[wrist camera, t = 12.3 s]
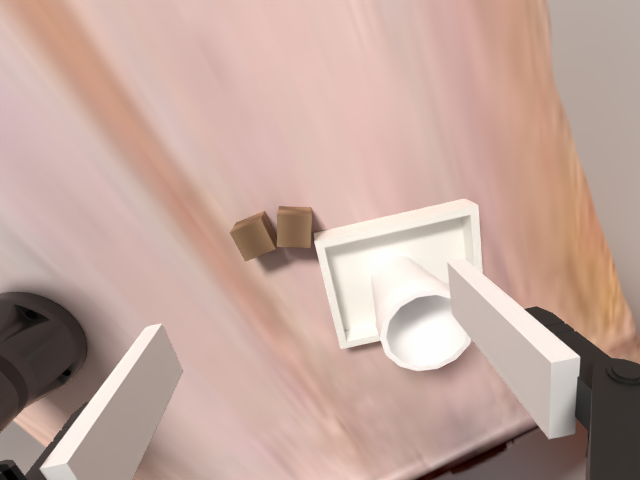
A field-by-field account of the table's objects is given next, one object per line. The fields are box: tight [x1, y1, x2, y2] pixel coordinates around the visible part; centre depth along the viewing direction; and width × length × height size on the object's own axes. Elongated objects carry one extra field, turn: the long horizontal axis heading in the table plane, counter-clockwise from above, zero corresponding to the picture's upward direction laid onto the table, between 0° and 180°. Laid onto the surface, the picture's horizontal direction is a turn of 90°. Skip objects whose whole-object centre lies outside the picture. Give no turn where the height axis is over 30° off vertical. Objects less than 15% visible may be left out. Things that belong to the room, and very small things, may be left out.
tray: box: [314, 199, 483, 349], centre depth 45 cm, size 20×16×4 cm
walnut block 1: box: [230, 211, 277, 262], centre depth 42 cm, size 4×4×4 cm
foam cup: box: [371, 253, 471, 371], centre depth 39 cm, size 10×9×13 cm
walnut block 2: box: [277, 206, 312, 248], centre depth 42 cm, size 4×4×4 cm
